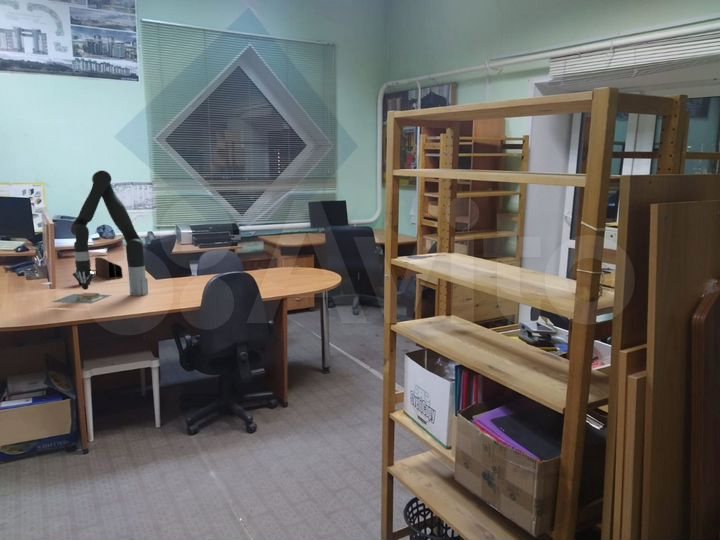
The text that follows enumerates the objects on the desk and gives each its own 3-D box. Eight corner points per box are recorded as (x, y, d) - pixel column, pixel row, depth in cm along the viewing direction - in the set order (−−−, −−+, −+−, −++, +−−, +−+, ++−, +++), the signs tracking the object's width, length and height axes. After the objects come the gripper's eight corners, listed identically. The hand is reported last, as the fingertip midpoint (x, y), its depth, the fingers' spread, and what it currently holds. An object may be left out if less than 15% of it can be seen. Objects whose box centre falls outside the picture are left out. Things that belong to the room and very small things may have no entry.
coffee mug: (75, 286, 343) (73, 270, 341) (79, 283, 352) (78, 268, 350) (94, 285, 346) (93, 270, 344) (98, 282, 354) (97, 267, 352)
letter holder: (108, 280, 362) (106, 259, 360) (95, 276, 375) (93, 256, 372) (123, 278, 370) (121, 257, 367) (109, 274, 383) (108, 254, 380)
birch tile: (85, 296, 310) (99, 297, 309) (77, 299, 303) (92, 300, 302) (84, 292, 309) (99, 293, 308) (76, 295, 303) (91, 295, 302)
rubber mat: (112, 296, 315) (112, 295, 315) (91, 305, 295) (91, 303, 295) (74, 295, 318) (74, 293, 318) (51, 303, 298) (50, 301, 298)
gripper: (97, 258, 305) (100, 288, 308) (76, 257, 307) (79, 287, 310) (89, 260, 298) (92, 291, 301) (67, 260, 299) (70, 290, 303)
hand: (85, 289), depth 305 cm, fingers closed
